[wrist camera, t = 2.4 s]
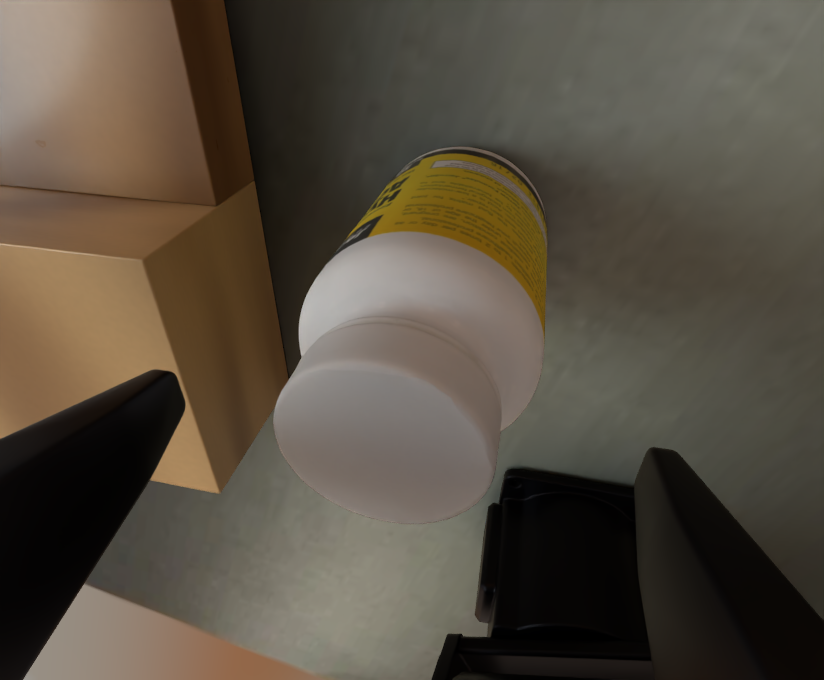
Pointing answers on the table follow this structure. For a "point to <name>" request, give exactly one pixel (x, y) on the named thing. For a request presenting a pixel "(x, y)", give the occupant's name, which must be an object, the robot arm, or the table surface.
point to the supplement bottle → (421, 341)
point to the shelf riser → (133, 224)
